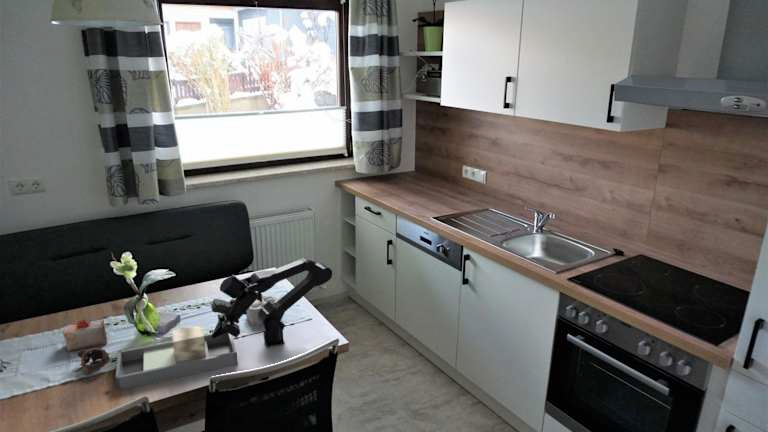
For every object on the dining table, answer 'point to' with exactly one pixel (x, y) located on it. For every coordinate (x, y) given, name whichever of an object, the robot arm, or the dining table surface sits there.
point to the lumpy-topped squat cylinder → (258, 309)
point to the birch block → (188, 343)
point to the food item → (85, 334)
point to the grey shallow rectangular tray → (171, 361)
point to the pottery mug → (93, 359)
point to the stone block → (167, 321)
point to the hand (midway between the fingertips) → (212, 337)
